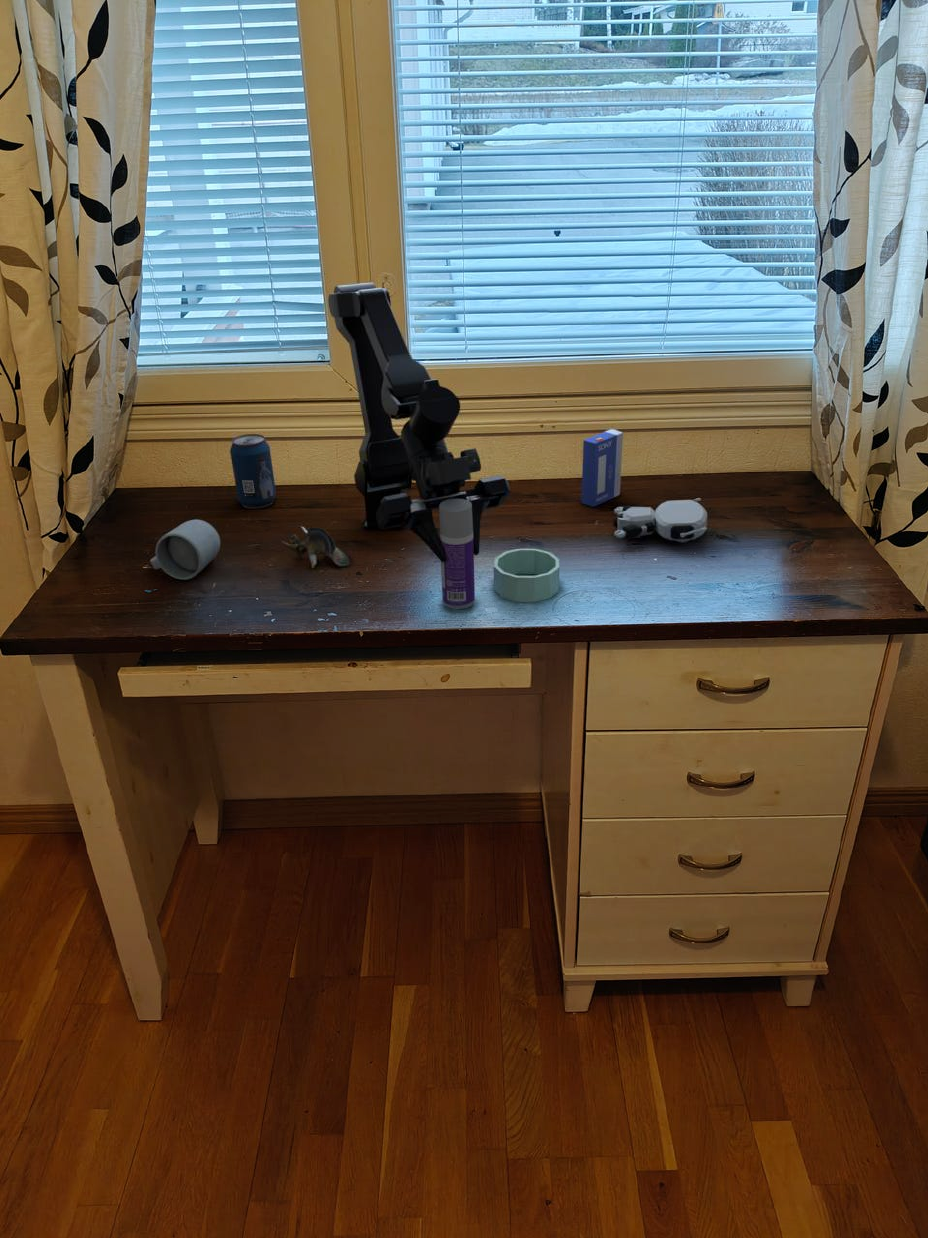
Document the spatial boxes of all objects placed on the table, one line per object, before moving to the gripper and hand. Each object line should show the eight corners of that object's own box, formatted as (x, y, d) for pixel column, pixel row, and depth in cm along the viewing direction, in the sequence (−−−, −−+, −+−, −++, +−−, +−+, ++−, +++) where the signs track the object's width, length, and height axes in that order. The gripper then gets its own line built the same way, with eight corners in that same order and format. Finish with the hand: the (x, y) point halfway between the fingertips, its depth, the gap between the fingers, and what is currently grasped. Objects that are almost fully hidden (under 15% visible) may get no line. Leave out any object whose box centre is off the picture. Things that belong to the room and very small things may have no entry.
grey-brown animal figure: (281, 567, 147) (334, 562, 144) (280, 522, 148) (333, 516, 145) (304, 573, 154) (355, 568, 152) (303, 529, 155) (353, 524, 152)
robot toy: (613, 553, 152) (709, 550, 150) (612, 528, 150) (710, 524, 148) (613, 522, 163) (703, 519, 160) (612, 498, 161) (704, 494, 158)
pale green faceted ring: (492, 601, 138) (491, 577, 136) (496, 571, 146) (496, 548, 144) (558, 602, 137) (559, 578, 135) (559, 572, 146) (559, 548, 144)
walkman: (593, 507, 167) (596, 441, 161) (581, 503, 169) (583, 437, 163) (621, 494, 172) (624, 430, 166) (608, 490, 173) (612, 426, 167)
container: (481, 600, 137) (479, 504, 130) (458, 612, 135) (455, 514, 127) (458, 589, 140) (455, 495, 133) (435, 601, 137) (431, 505, 130)
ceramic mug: (227, 558, 153) (219, 514, 149) (204, 582, 146) (195, 536, 142) (167, 555, 155) (157, 511, 152) (142, 578, 148) (131, 532, 145)
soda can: (245, 494, 177) (236, 432, 171) (281, 495, 176) (273, 433, 170) (232, 509, 171) (222, 445, 165) (270, 510, 170) (261, 446, 164)
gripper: (376, 441, 125) (409, 550, 122) (505, 420, 131) (539, 523, 128) (363, 477, 136) (393, 578, 132) (482, 456, 142) (514, 552, 138)
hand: (460, 557), depth 133 cm, fingers closed on container, 4 cm apart
